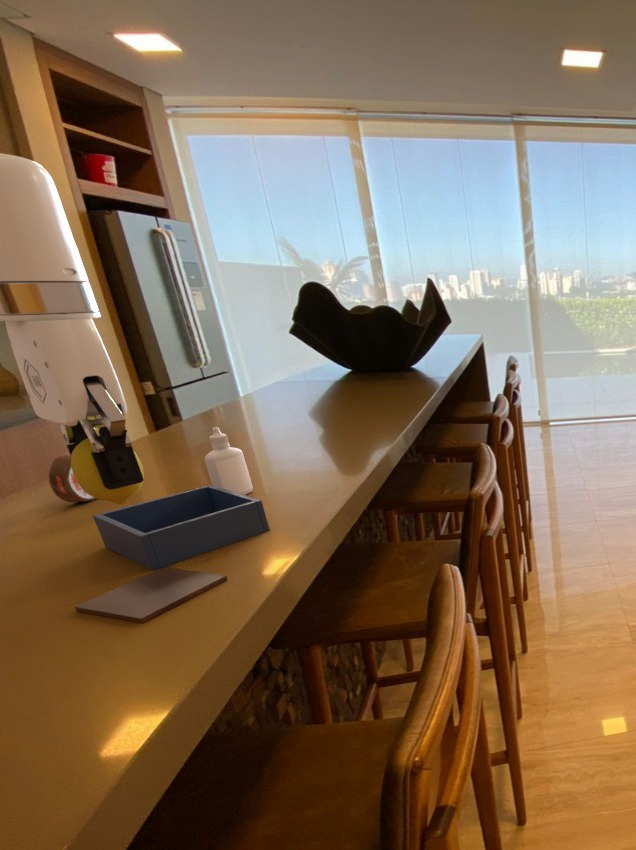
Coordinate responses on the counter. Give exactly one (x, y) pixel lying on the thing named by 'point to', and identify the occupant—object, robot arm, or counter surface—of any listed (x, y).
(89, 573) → the counter surface
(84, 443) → the lemon
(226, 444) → the eye dropper bottle
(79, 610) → the coaster
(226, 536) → the tote
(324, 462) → the counter surface
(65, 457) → the tin
